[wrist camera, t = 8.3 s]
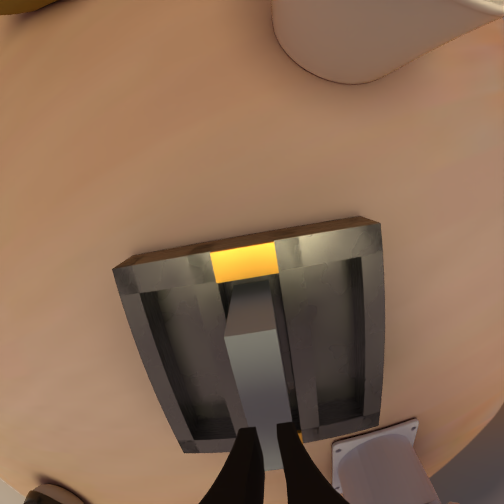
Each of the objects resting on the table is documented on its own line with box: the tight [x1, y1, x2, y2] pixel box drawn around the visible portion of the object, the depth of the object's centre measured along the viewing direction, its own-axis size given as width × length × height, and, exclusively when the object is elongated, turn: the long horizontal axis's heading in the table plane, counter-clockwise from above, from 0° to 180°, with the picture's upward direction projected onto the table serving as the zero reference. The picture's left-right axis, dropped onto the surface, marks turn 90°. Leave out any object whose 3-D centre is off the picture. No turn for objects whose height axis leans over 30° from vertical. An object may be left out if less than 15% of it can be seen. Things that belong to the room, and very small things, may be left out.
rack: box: [112, 216, 385, 453], centre depth 17 cm, size 14×14×3 cm
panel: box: [224, 280, 292, 471], centre depth 15 cm, size 9×2×6 cm, turn 10°
